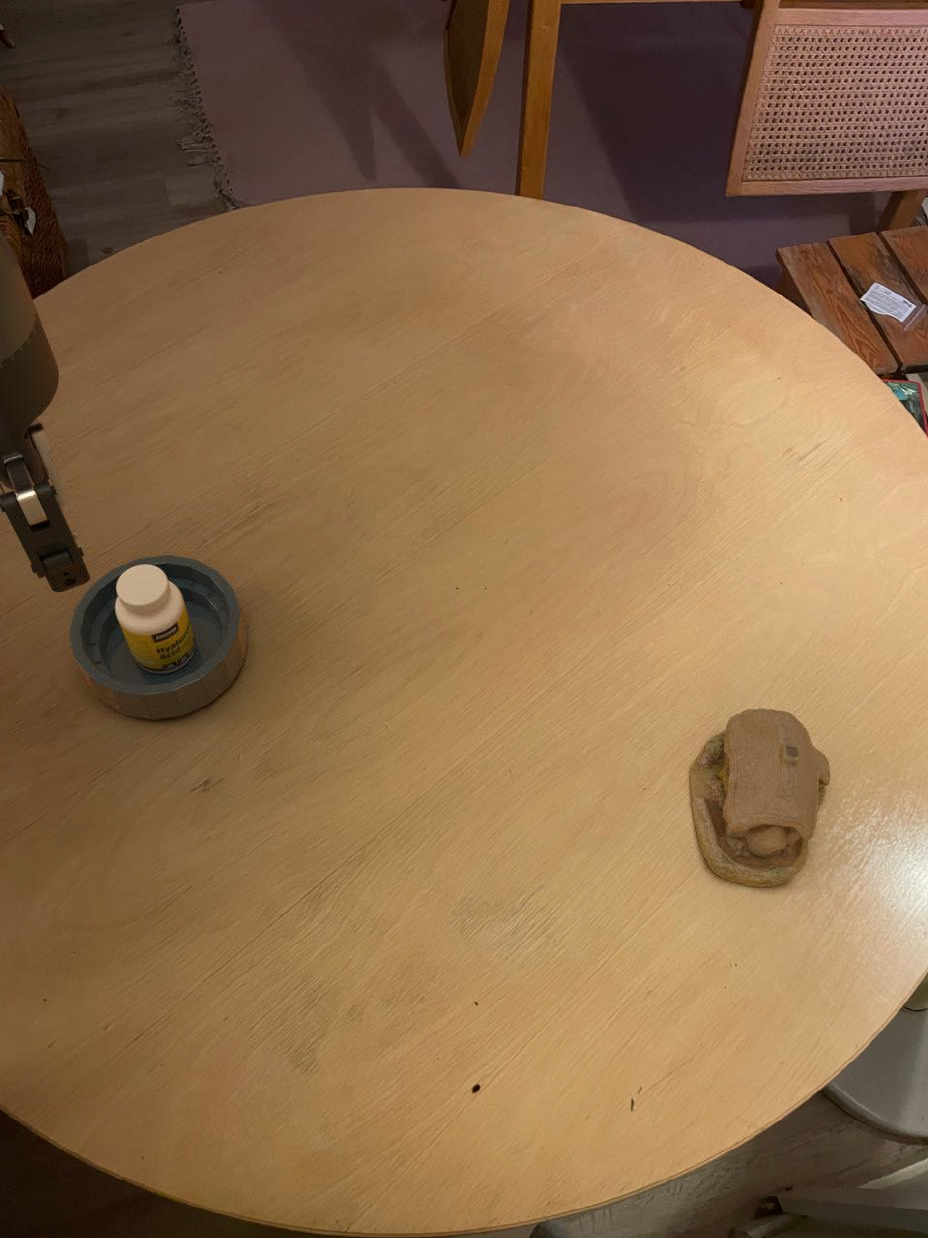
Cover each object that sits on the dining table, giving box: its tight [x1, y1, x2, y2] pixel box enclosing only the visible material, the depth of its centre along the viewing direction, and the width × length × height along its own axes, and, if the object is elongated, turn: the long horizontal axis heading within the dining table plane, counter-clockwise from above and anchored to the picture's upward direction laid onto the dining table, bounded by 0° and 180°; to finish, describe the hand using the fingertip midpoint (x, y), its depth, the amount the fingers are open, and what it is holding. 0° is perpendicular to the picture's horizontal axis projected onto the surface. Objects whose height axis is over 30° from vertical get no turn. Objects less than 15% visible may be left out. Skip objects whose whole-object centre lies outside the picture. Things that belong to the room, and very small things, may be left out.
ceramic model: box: [689, 708, 832, 888], centre depth 81 cm, size 14×11×10 cm
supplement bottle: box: [115, 565, 196, 674], centre depth 86 cm, size 5×5×10 cm
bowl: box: [68, 554, 248, 720], centre depth 89 cm, size 14×14×5 cm
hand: (51, 531), depth 62 cm, fingers open, 8 cm apart
